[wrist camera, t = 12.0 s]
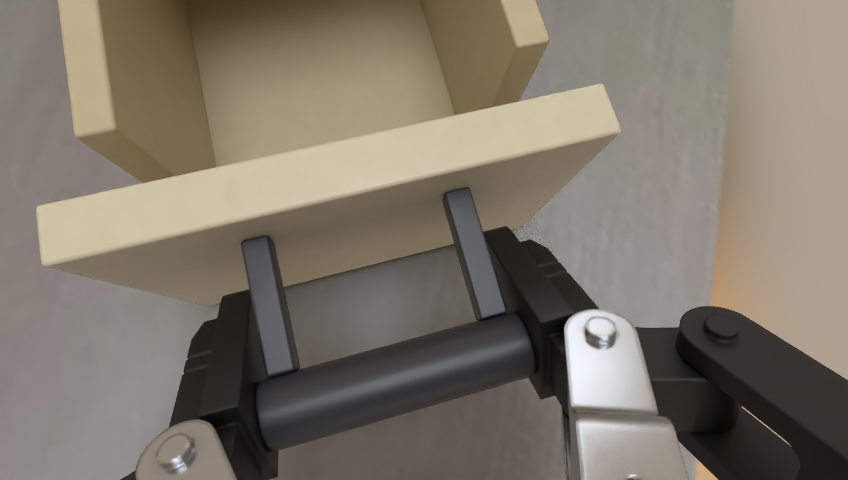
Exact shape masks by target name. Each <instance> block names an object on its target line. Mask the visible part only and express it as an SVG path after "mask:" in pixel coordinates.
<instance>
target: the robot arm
mask: <svg viewBox="0 0 848 480" xmlns="http://www.w3.org/2000/svg"><path fill="white" fill-rule="evenodd" d="M483 233H484V236H485V239H486V243H487V246H488V249H489V253H490V256H491V259H492V262H493V266H494V269H495V272H496V276H497V279H498V282H499V286H500V289H501V292H502V295H503V299H504V302H505V305H506V309H507V312H506V313H508V312H515V313H516V314H518V315H519V317H520V318H521V320H522V321H523V323H524V325H525V327H526V329H527V331H528V333H529V336H530V339H531V342H532V345H533V349H534V354H535V360H536V371H535V374H534V375H533V376H531V377H529V379H530V381H531V383H532V384H533V386H534V388H535V390H536V392H537V394H538V395H539V397H540V399H544V398H548V397H551V396H556V397H557V399H558V401H559V402H560V404H561V406H562V411H561V421H562V435H563V449H564V464H565V478H566V480H689V477H688V474H687V470H686V467H685V463H684V460H683V456H682V453H681V449H680V446H679V442H680V443H681V444H682V445H683V446H684V447H685V448H686V449H687V450H688V451H689V452H690V453H691V454H692V455H694V456H695V457H696V458H697V459H698V460H699V461H700V462H701V463H702V464H703V465H704V466H705V467H706V468H707V469H708V470H709V471H710V472H711V473H712V474H713V475H714V476H715V477H716V478H717V479H718V480H848V380H846V379H845V378H843V377H842V376H840V375H838V374H837V373H835V372H834V371H832V370H830V369H829V368H827V367H825V366H824V365H822V364H821V363H819V362H818V361H816V360H814V359H813V358H811V357H810V356H808V355H806V354H805V353H803V352H802V351H800V350H798V349H797V348H795V347H794V346H792V345H790V344H789V343H787V342H785V341H784V340H782V339H780V338H779V337H778V336H776V335H774V334H773V333H771V332H769V331H768V330H766V329H765V328H763V327H762V326H760V325H758V324H757V323H755V322H754V321H752V320H750V319H749V318H747V317H745V316H743V315H742V314H740V313H737V312H735V311H732V310H729V309H725V308H721V307H713V306H705V307H698V308H694V309H691V310H689V311H687V312H686V313H685V314H684V315H683V316H682V318H681V320H680V325H679V328H638V327H634V325H633V324H632V323H631V322H630V321H629V320H627V319H626V318H625V317H623V316H621V315H619V314H617V313H615V312H611V311H608V310H602V309H599V308H598V307H597V306H596V305H595V303H594V302H593V301H592V300H591V299H590V298H589V296H588V295H587V294H586V293H585V292H584V290H583V289H582V288H581V287H580V286H579V285H578V283H577V282H576V281H575V280H574V279H573V278H572V276H571V275H570V274H569V273H567V272H566V269H565V268H564V267H563V266H562V265H561V264H560V263H558V260H557V259H556V258H555V256H554V255H553V254H552V253H551V252H550V251H549V249H548V248H546V247H544V246H542V245H540V244H538V243H536V242H535V241H533V240H527V241H523V242H519V240H518V239H517V238H516V236H515V235H514V234H513V233H512V231H511V230H510V229H509V228H508V227H507V226H504V227H500V228H496V229H492V230H488V231H484V232H483ZM504 314H505V313H504ZM187 357H188V360H186V363H185V367H184V375H182V379H181V383H180V387H179V391H178V394H177V398H176V402H175V406H174V410H173V414H172V418H171V422H170V426H169V428H168V429H166V430H165V431H163V432H162V433H161V434H159V435H158V436H157V437H156V438H155V439H154V440H152V441H151V442H150V444H149V445H148V446H147V447H146V448H145V450H144V451H143V453H142V454H141V456H140V458H139V460H138V463H137V466H136V470H135V471H134V472H133V473H131V474H129V475H128V476H126V477H124V478H122V479H121V480H269V479H273V478H276V477H278V451H271V450H269V449H268V448H267V446H266V444H265V442H264V440H263V438H262V435H261V432H260V428H259V424H258V419H257V412H256V390H257V386H258V383H259V382H260V381H262V380H264V379H267V378H271V377H267V376H266V373H265V368H264V363H263V358H262V352H261V347H260V342H259V337H258V332H257V326H256V321H255V316H254V311H253V306H252V300H251V295H250V290H249V289H248V290H244V291H240V292H236V293H232V294H228V295H224V296H223V297H222V299H221V303H220V308H219V313H218V318H217V319H214V320H210V321H206V322H204V323H203V325H202V326H201V327H200V329H199V330H198V331H197V333H196V334H195V335H194V337H193V338H192V340H191V344H190V348H189V352H188V356H187ZM742 406H743V407H744V408H745V409H747V410H748V411H749V412H751V413H752V414H753V415H754V416H756V417H757V418H758V419H759V420H761V421H762V422H763V423H764V424H766V425H767V426H768V427H770V428H771V429H772V430H773V431H775V432H776V433H777V434H778V435H780V436H781V437H782V438H783V439H785V440H786V441H787V442H788V443H789V444H790V445H791V446H792V447H791V446H790V445H788V444H787V443H786V442H784V441H783V440H782V439H781V438H779V437H778V436H777V435H775V434H774V433H773V432H772V431H771V430H769V429H768V428H767V427H766V426H764V425H763V424H762V423H760V422H759V421H758V420H757V419H755V418H754V417H753V416H752V415H750V414H749V413H748V412H747V411H745V410H744V409H743V408H742ZM678 441H679V442H678Z"/></svg>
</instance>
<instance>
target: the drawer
mask: <svg viewBox="0 0 848 480" xmlns="http://www.w3.org/2000/svg"><path fill="white" fill-rule="evenodd" d="M58 7H59V15H60V23H61V31H62V39H63V47H64V55H65V63H66V72H67V80H68V88H69V96H70V104H71V112H72V120H73V128H74V134H75V136H76V138H77V139H79V140H80V141H82V142H83V143H85V144H86V145H88V146H89V147H91V148H92V149H94V150H95V151H97V152H98V153H100V154H101V155H103V156H104V157H106V158H107V159H108V160H110V161H111V162H113V163H114V164H116V165H117V166H119V167H120V168H122V169H123V170H125V171H126V172H128V173H129V174H131V175H132V176H134V177H135V178H137V179H138V180H140V181H141V182H143V183H141V184H137V185H132V186H127V187H123V188H118V189H114V190H109V191H104V192H100V193H95V194H91V195H86V196H81V197H77V198H72V199H68V200H63V201H58V202H54V203H49V204H45V205H40V206H38V207H37V208H36V215H37V225H38V235H39V245H40V255H41V263H42V265H43V266H44V267H48V268H52V269H56V270H61V271H65V272H69V273H73V274H77V275H81V276H85V277H89V278H93V279H98V280H102V281H106V282H110V283H114V284H118V285H122V286H126V287H130V288H134V289H139V290H143V291H147V292H151V293H155V294H159V295H163V296H167V297H171V298H176V299H180V300H184V301H188V302H192V303H196V304H200V305H204V306H210V305H214V304H218V303H221V299H222V297H223V296H224V295H228V294H232V293H236V292H240V291H244V290H248V289H249V290H250V295H251V300H252V306H253V311H254V316H255V321H256V326H257V332H258V337H259V342H260V347H261V352H262V358H263V363H264V368H265V373H266V376H267V377H271V378H267V379H264V380H262V381H260V382H259V383H258V386H257V390H256V412H257V419H258V424H259V428H260V432H261V435H262V438H263V440H264V442H265V444H266V446H267V448H268V449H269V450H271V451H278V450H282V449H285V448H289V447H292V446H295V445H299V444H302V443H306V442H309V441H312V440H316V439H319V438H323V437H326V436H330V435H333V434H336V433H340V432H343V431H347V430H350V429H353V428H357V427H360V426H364V425H367V424H371V423H374V422H377V421H381V420H384V419H388V418H391V417H394V416H398V415H401V414H405V413H408V412H412V411H415V410H418V409H422V408H425V407H429V406H432V405H435V404H439V403H442V402H446V401H449V400H452V399H456V398H459V397H463V396H466V395H470V394H473V393H476V392H480V391H483V390H487V389H490V388H493V387H497V386H500V385H504V384H507V383H511V382H514V381H517V380H521V379H524V378H528V377H531V376H533V375H534V374H535V371H536V360H535V354H534V349H533V345H532V342H531V339H530V336H529V333H528V331H527V329H526V327H525V325H524V323H523V321H522V320H521V318H520V317H519V315H518V314H516V313H515V312H508V313H506V312H507V309H506V305H505V302H504V299H503V295H502V292H501V289H500V286H499V282H498V279H497V276H496V272H495V269H494V266H493V262H492V259H491V256H490V253H489V249H488V246H487V243H486V239H485V236H484V233H483V232H484V231H488V230H492V229H496V228H500V227H504V226H507V227H508V228H509V229H510V230H512V229H516V228H520V227H522V226H523V225H524V224H525V223H526V222H527V221H528V220H530V219H531V218H532V217H533V216H534V215H535V214H536V213H537V212H538V211H539V210H540V209H541V208H542V207H543V206H544V205H545V204H546V203H547V202H548V201H549V200H550V199H551V198H553V197H554V196H555V195H556V194H557V193H558V192H559V191H560V190H561V189H562V188H563V187H564V186H565V185H566V184H567V183H568V182H569V181H570V180H571V179H572V178H573V177H574V176H576V175H577V174H578V173H579V172H580V171H581V170H582V169H583V168H584V167H585V166H586V165H587V164H588V163H589V162H590V161H591V160H592V159H593V158H594V157H595V156H596V155H597V154H598V153H600V152H601V151H602V150H603V149H604V148H605V147H606V146H607V145H608V144H609V143H610V142H611V141H612V140H613V139H614V138H615V137H616V136H617V135H618V134H619V133H620V131H621V129H620V126H619V123H618V121H617V118H616V115H615V113H614V110H613V108H612V105H611V102H610V100H609V97H608V95H607V92H606V89H605V87H604V85H603V84H597V85H592V86H587V87H583V88H578V89H574V90H569V91H564V92H560V93H555V94H551V95H546V96H541V97H537V98H532V99H528V100H523V101H519V100H520V98H521V96H522V94H523V92H524V90H525V88H526V86H527V84H528V82H529V80H530V78H531V77H532V75H533V73H534V71H535V69H536V67H537V65H538V63H539V61H540V59H541V57H542V55H543V53H544V51H545V49H546V47H547V45H548V43H549V37H548V34H547V31H546V28H545V26H544V23H543V20H542V17H541V15H540V12H539V9H538V6H537V4H536V1H535V0H58ZM452 244H455V248H456V251H457V255H458V258H459V262H460V265H461V268H462V272H463V275H464V279H465V282H466V286H467V289H468V293H469V296H470V300H471V303H472V307H473V310H474V314H475V317H476V320H478V321H475V322H472V323H468V324H465V325H461V326H457V327H454V328H450V329H446V330H443V331H439V332H435V333H432V334H428V335H424V336H421V337H417V338H413V339H410V340H406V341H402V342H399V343H395V344H391V345H388V346H384V347H381V348H377V349H373V350H370V351H366V352H362V353H359V354H355V355H351V356H348V357H344V358H340V359H337V360H333V361H329V362H326V363H322V364H318V365H315V366H311V367H307V368H304V369H300V370H298V369H299V368H300V364H299V359H298V354H297V349H296V345H295V340H294V335H293V330H292V325H291V321H290V316H289V311H288V306H287V301H286V296H285V292H284V287H285V286H289V285H293V284H297V283H301V282H305V281H309V280H313V279H317V278H321V277H325V276H329V275H333V274H337V273H341V272H345V271H349V270H353V269H357V268H361V267H365V266H369V265H373V264H377V263H381V262H385V261H389V260H393V259H397V258H401V257H405V256H409V255H413V254H417V253H421V252H424V251H428V250H432V249H436V248H440V247H444V246H448V245H452ZM504 313H505V314H504Z"/></svg>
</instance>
